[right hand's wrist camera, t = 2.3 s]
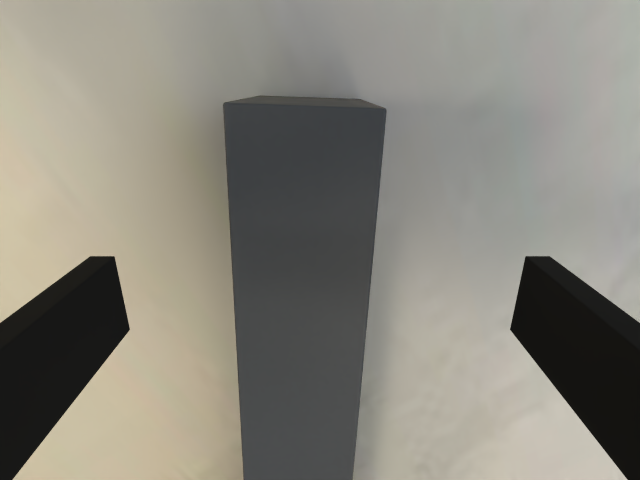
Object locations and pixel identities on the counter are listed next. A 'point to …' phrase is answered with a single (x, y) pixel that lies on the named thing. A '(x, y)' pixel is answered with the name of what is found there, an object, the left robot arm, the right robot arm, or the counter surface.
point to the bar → (301, 276)
